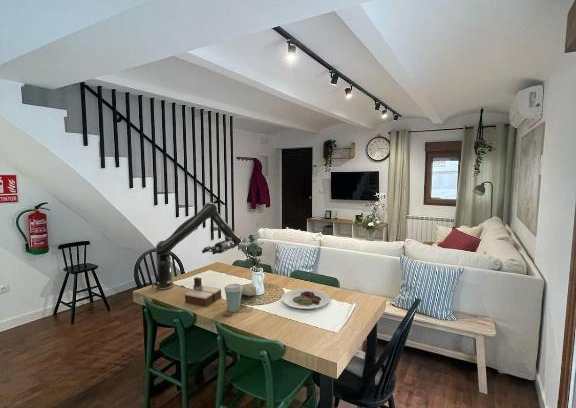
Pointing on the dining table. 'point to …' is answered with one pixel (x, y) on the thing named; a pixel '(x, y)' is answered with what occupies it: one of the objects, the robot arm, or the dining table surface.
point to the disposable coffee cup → (233, 296)
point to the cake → (203, 296)
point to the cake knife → (198, 284)
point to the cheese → (249, 290)
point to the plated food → (306, 298)
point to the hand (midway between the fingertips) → (207, 252)
